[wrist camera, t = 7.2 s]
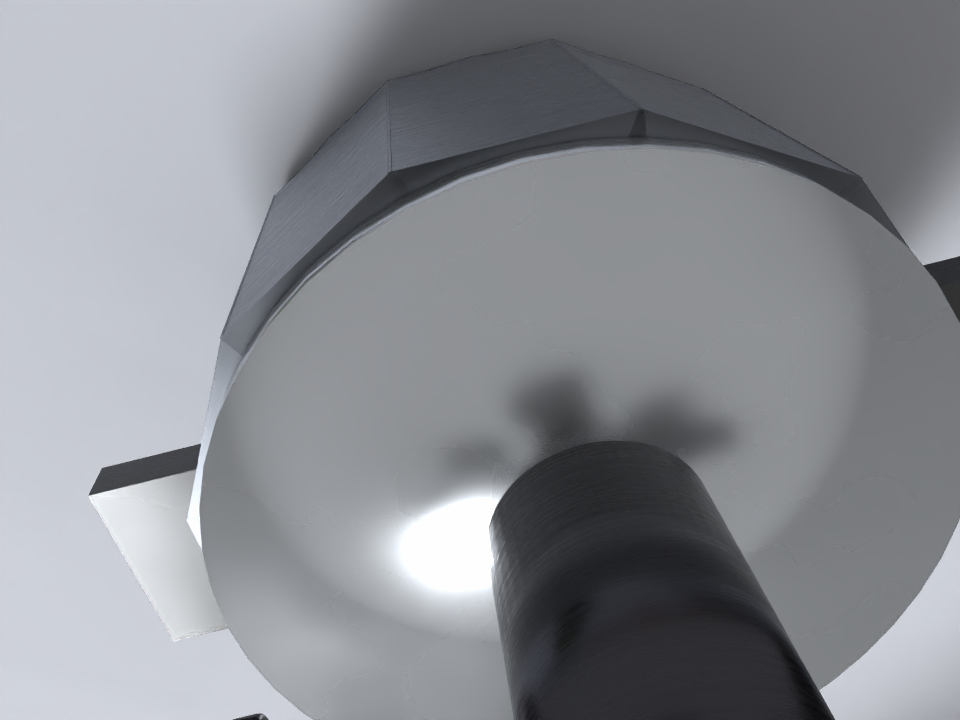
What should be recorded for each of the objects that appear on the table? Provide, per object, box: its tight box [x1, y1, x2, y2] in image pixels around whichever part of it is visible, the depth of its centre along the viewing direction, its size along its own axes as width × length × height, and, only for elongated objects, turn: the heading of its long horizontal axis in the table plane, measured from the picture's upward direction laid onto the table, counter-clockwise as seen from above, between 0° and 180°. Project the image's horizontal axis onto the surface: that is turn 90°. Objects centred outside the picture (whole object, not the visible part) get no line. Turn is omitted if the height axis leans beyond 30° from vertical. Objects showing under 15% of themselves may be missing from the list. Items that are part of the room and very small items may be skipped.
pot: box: [88, 39, 960, 641], centre depth 15 cm, size 14×11×6 cm
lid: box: [199, 137, 960, 720], centre depth 10 cm, size 11×11×6 cm
